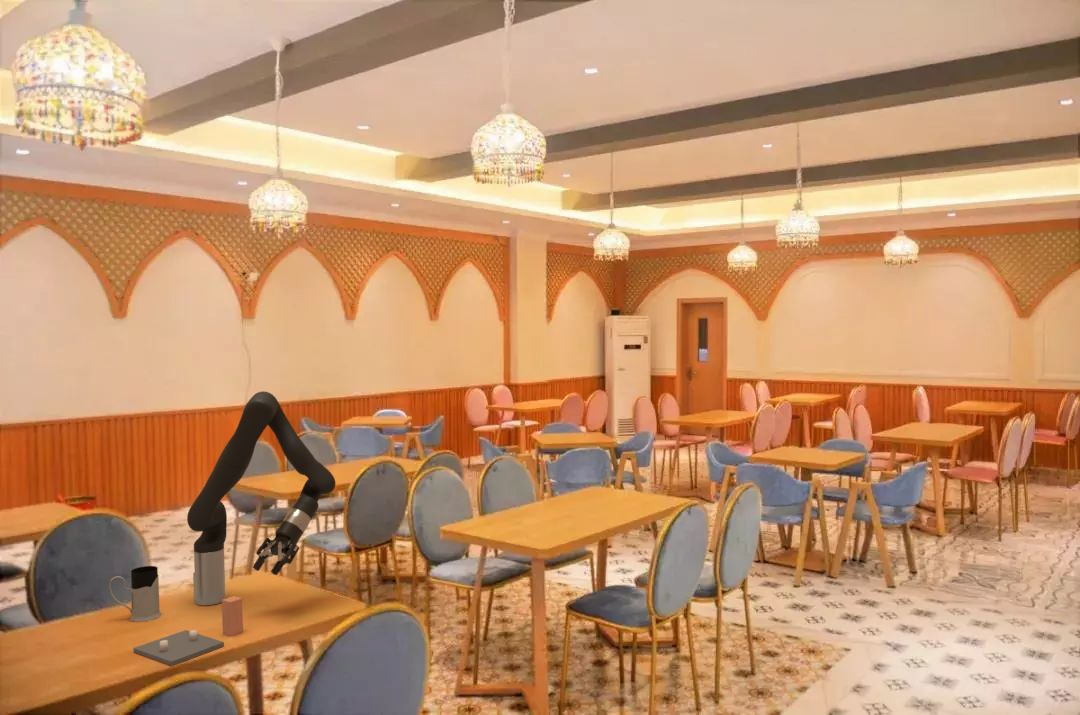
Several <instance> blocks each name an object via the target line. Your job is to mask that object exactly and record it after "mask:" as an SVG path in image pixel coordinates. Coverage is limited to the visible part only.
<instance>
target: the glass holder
mask: <svg viewBox="0 0 1080 715" xmlns="http://www.w3.org/2000/svg"><path fill="white" fill-rule="evenodd" d="M158 572H159V570H158V566H156V565H155V566H154V565H144V566H140V567H136V568H132V569H131V570H130V575H131V576H130V577H131V580H130V581H131V587H127V584H126V580H125V578H124V577H122V576H120V575H118V576H117V575H116V576H114V577H112V578H111V579H110V581H109V592H110V594H111V596H112V598H113V599H114V601H115V602H117V603H118V604H120V605H121V606H122V607H124V608H126V609H128V610H129V611H130V614H131V616H130V619H129V620H130V621H131V622H135V623H142V622H150V621H154V620H156V619H159V618H160V617H162V613H161V611H160V584H159V573H158ZM116 578H117V579H118V578H119V579H121V580H122V581H123V583H124V584H123V586H124V588H125V590H130V594H131V595H130V600H131V603H130V604H131V608H130V607H129V606H127V605H126V604H124V603H122V602H121V601H119V600H118V599H117V598H116V597H115V595H114V593H113V591H112V581H113V580H114V579H116Z"/></svg>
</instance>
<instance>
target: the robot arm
mask: <svg viewBox="0 0 1080 715" xmlns="http://www.w3.org/2000/svg"><path fill="white" fill-rule="evenodd" d="M267 427H269V428H270V430H271V431H272V433H273V434H274V435H275V438H276V440H277V441H278V444H279V445H280V448H281V450H282V452H283V454H284V456H285V458H286V459H287V461H288V462H289V463H290V465H291V466H292V467H293V468H294V469H295V471H296V472H297V473H298V475H299V474H300V475H301V476H302V475H303V476H305V477H307V480H306V481H305V483H304V485H303V487H302V489H301V492H300V494H299V497H298V499H297V500H296V502H295V503H294V505H293V506H292V507H291V509H290V510H289V511H288V513H287V514H286V516H284V518H283V520H282V522H281V523H280V525H278V527H277V529H276V531H275V537H274V538H273V539H270V538H269V537H266V538H265V539H264V540H263V542H262V543H261V545H260V546H259V548H258V549H257V550H256V553H255V554H256V555H257V556H258V557H257V559H256V561H255V563H254V564H253V567H252V568H253V569H254V570H255V571H260V570H261V568H262V566H264V564H265V562H266V560H268V559H270V558H273V557H274V556H278V561H277V560H276V563H274V565H273V567H272V569H271V571H270V573H272V574H273V575H274V576H277V575H278V574H279V573H280V572H281V570H282V568H283V566H285V565H286V564H288V565H290V564H292V562H293V560H294V559H295V557H296V555H297V554H298V552H299V550H300V547H299V545H297V544H298V542H299V541H300V539H301V538H302V536H303V534H304V533H305V531H306V530H307V528H308V527H309V524H310V522H311V521H312V518H314V516H315V514H316V513H317V510H318V509H319V502H318V501H319V500H320V498H321V496H324V495H327V494H330V493H332V492H333V491H334V490H335V489H336V480H335V477H334V475H333V474H332V472H331V471H330V470H329V469H328V468H327V467H325V466H324V465H323V464H322V463H321V462H319V461H318V460H317V459H316V458H315V456H314V455H313V454H312V453H311V452H312V451H310V450H309V449H308V447H307V446H306V444H305V443H304V442H303V441H302V439H301V438H300V436H299V435H298V434H297V432H296V430H295V429H294V427H293V426H292V424H291V423H290V421H289V419H288V417H287V416H286V414H285V411H284V410H283V409H282V406H281V404H280V402H279V401H278V399H277V398H276V396H274V395H273V393H270V392H269V391H258V392H256V393H255V394H254V395H253V396H252V397H251V398H250V399H249V400H248V401H247V402H246V404H245V405H244V409H243V411H242V414H241V417H240V420H239V421H238V425H237V427H236V429H235V431H234V433H233V435H232V436H231V437H230V439H229V440H228V442H227V443H226V445H225V446H224V448H223V449H222V451H221V453H220V455H219V457H218V459H217V461H216V463H215V464H214V465H215V466H214V467H213V469H212V471H211V473H210V474H209V476H208V479H207V480H206V482H205V484H204V487H203V488H202V490H201V491H200V493H199V494H198V496H197V497H196V499H195V500H194V501H193V503H192V505H191V506H190V508H189V509H188V512H187V519H186V521H187V525H188V527H189V528H190V529H191V530H192V531H194V532H201V534H200V535H199V537H198V538H197V539H196V540H195V541H194V543H193V562H194V563H193V565H194V566H193V567H194V571H193V576H192V578H193V579H192V580H193V582H192V583H193V601H194V602H195V605H197V606H212V605H218V604H220V603H221V604H222V600H223V599H226V572H225V571H226V569H225V564H226V563H225V542H226V539H227V528H228V526H227V525H228V524H227V521H228V517H227V509H226V507H225V505H224V502H222V501H221V500H222V499H223V498H225V496H226V494H228V493H229V492H230V491H231V490H232V489H233V488H235V486H236V485H237V484H238V483H239V482H240V481H241V479H242V478H243V476H244V475H245V472H246V471H247V469H248V467H249V466H250V463H251V461H252V457H253V455H254V452H255V447H256V445H257V442H258V440H259V439H260V437H261V435H262V434H263V433H264V431H265V429H266V428H267Z"/></svg>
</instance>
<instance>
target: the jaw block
mask: <svg viewBox="0 0 1080 715" xmlns="http://www.w3.org/2000/svg"><path fill="white" fill-rule="evenodd" d="M221 612H222V614H221V616H222V618H221V619H222V620H221V621H222V634H223V635H227V636H230V637H233V636H235V635H238V634H242V633H244V624H243V623H244V622H243V621H244V618H243V616H244V615H243V598H242V597H238V596H234V595H233V596H230V597H227V598H226V597H225V599H223V600H222V602H221Z"/></svg>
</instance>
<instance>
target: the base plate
mask: <svg viewBox="0 0 1080 715" xmlns="http://www.w3.org/2000/svg"><path fill="white" fill-rule="evenodd" d="M223 647H225V642H224V641H221V640H219V639H215V638H212V637H209V636H205V635H203V634H199V633H198V630H197V629H192V630H186V629H185V630H183V631H182V630H181V631H178V632H176V633H173V634H170V635H168V636H164V637H162V638H159V639H156V640H153V641H150V642H146V643H144V644H141V645H138V646H135V647H133V650H132V651H133V653H134V654H138V655H139V656H143V657H146V658H149V659H152V660H154V661H157V662H159V663H163V664H165V665H168V666H170V667H173V666H176V665H178V664H181V663H183V662H186V661H188V660H189V661H190V660H191V659H194V658H196V657H199V656H201V655H205V654H207V653H210V652H212V651H216V650H218V649H221V648H223Z"/></svg>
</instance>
